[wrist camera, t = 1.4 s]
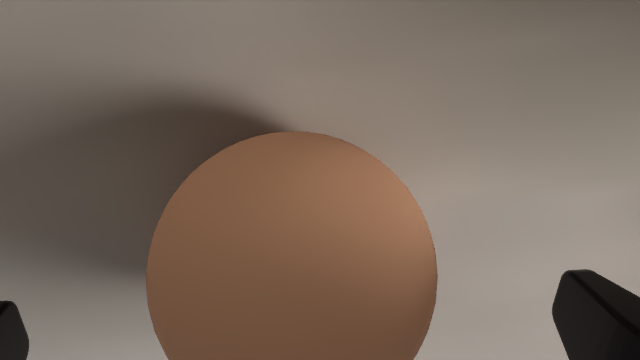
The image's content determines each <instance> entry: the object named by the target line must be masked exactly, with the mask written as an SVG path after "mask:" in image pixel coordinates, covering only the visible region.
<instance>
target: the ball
mask: <svg viewBox="0 0 640 360" xmlns="http://www.w3.org/2000/svg"><path fill="white" fill-rule="evenodd" d="M437 277H438V275H437V264H436V255H435V248H434V244H433V241H432V237H431V233H430V230H429V228H428V225H427V222H426V220H425V218H424V215H423V213H422V211H421V209H420V207H419V206H418V204H417V202H416V201H415V199H414V198H413V196H412V194H411V193H410V191H409V190H408V188H407V187H406V186H405V185H404V184H403V182H402V181H401V180H400V179H399V178H398V177H397V176H396V175H395V174H394V173H393V172H392V171H391V170H390V169H389V168H388V167H387V166H386V165H384V164H383V163H382V162H381V161H379V160H378V159H377V158H376V157H374V156H372V155H371V154H369V153H367V152H366V151H364V150H362V149H361V148H359V147H357V146H355V145H352V144H350V143H348V142H345V141H343V140H341V139H337V138H334V137H330V136H327V135H323V134H317V133H310V132H293V131H289V132H277V133H269V134H264V135H260V136H255V137H252V138H249V139H246V140H243V141H240V142H238V143H235V144H233V145H231V146H229V147H227V148H225V149H223V150H222V151H220V152H218V153H217V154H215V155H214V156H212V157H211V158H209V159H208V160H206V161H205V162H204V163H202V164H201V165H200V166H199V167H198V168H197V169H195V170H194V171H193V172H192V173H191V174H190V175H189V176H188V177H187V178H186V179H185V181H184V182H183V183H182V184H181V185H180V186H179V188H178V189H177V190H176V192H175V193H174V194H173V196H172V197H171V199H170V200H169V202H168V204H167V205H166V207H165V208H164V211H163V213H162V215H161V218H160V220H159V222H158V224H157V227H156V229H155V231H154V234H153V238H152V242H151V246H150V250H149V255H148V260H147V272H146V290H147V300H148V307H149V311H150V316H151V320H152V323H153V327H154V330H155V333H156V335H157V337H158V339H159V341H160V344H161V346H162V348H163V350H164V352H165V354H166V356H167V358H168V359H169V360H413V359H414V358H415V356H416V354H417V353H418V351H419V349H420V347H421V345H422V343H423V341H424V339H425V336H426V334H427V332H428V329H429V326H430V322H431V319H432V315H433V311H434V307H435V302H436V290H437Z"/></svg>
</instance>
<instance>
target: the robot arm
mask: <svg viewBox="0 0 640 360" xmlns="http://www.w3.org/2000/svg"><path fill="white" fill-rule="evenodd" d="M552 315H553V319H554V322H555V325H556V327H557V330H558V333H559V335H560V338H561V340H562V343H563V345H564V348H565V350H566V353H567V355H568V358H569V360H640V297H638V296H637V295H635V294H633V293H631V292H629V291H628V290H626V289H624V288H622V287H620V286H619V285H617V284H615V283H613V282H612V281H610V280H608V279H606V278H604V277H603V276H601V275H599V274H597V273H595V272H594V271H591V270H587V269H583V270H568V271H566V272H564V274H563V275H562V277H561V280H560V283H559V286H558V289H557V293H556V296H555V299H554V303H553V307H552ZM28 351H29V339H28V335H27V332H26V330H25V327H24V324H23V322H22V319H21V316H20V314H19V311H18V308H17V306H16V305H15V304H14V302H12V301H0V360H26V359H27V355H28Z"/></svg>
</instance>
